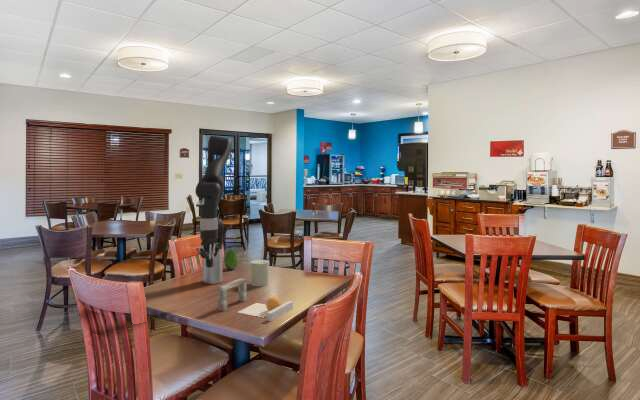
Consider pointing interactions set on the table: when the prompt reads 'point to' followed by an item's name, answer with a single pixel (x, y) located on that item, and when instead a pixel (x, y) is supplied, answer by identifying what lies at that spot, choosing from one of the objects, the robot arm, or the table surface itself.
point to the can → (260, 273)
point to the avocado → (231, 259)
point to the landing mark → (255, 310)
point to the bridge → (223, 288)
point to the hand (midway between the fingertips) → (209, 267)
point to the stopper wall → (279, 310)
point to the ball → (272, 303)
